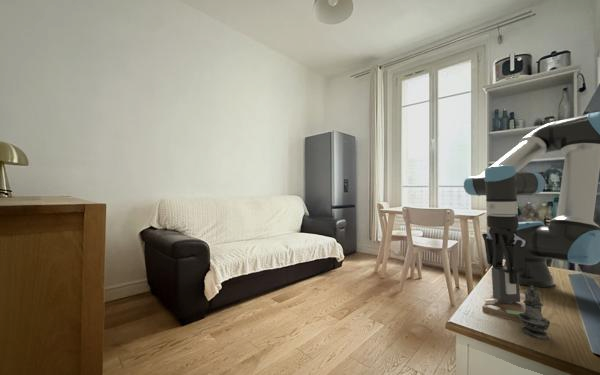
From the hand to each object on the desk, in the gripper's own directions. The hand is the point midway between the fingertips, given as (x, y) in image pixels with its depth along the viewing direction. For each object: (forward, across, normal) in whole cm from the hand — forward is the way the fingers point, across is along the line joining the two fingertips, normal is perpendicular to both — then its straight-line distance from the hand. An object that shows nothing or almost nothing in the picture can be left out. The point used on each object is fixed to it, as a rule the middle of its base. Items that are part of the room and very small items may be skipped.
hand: (506, 291), depth 76 cm
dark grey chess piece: (+5, +13, -6) cm, 15 cm away
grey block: (+3, 0, -2) cm, 4 cm away
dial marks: (+3, +4, -5) cm, 7 cm away
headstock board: (+5, 0, +2) cm, 5 cm away
